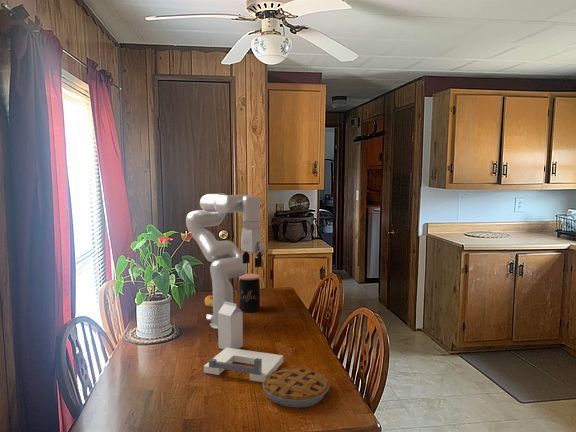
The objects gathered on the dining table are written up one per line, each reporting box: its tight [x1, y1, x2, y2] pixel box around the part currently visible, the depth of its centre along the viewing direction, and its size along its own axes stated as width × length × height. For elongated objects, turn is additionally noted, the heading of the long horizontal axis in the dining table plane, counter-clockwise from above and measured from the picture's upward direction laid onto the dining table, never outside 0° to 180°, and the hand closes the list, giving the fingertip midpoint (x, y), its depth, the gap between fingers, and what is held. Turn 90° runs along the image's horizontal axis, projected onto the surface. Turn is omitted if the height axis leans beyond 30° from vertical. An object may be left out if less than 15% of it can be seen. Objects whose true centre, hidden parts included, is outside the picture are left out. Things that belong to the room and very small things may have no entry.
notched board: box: [203, 347, 284, 383], centre depth 167 cm, size 24×18×2 cm
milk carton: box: [217, 301, 244, 351], centre depth 184 cm, size 7×7×19 cm
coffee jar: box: [238, 273, 261, 313], centre depth 235 cm, size 11×11×18 cm
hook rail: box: [208, 357, 262, 375], centre depth 159 cm, size 20×2×5 cm, turn 71°
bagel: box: [204, 295, 213, 308], centre depth 244 cm, size 10×11×5 cm
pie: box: [262, 366, 331, 408], centre depth 148 cm, size 22×22×5 cm
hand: (252, 265), depth 191 cm, fingers open, 9 cm apart
